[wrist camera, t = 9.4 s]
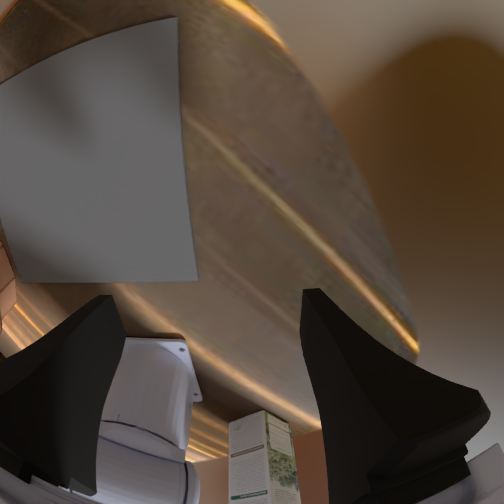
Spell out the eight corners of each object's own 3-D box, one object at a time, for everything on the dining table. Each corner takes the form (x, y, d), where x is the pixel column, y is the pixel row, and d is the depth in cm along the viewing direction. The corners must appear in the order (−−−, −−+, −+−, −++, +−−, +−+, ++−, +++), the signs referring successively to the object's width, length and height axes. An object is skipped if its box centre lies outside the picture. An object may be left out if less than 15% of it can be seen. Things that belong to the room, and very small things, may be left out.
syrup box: (226, 422, 30) (225, 527, 17) (265, 407, 28) (273, 524, 15) (255, 436, 32) (260, 530, 19) (292, 422, 30) (305, 524, 17)
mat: (199, 277, 20) (198, 280, 20) (24, 279, 20) (21, 282, 20) (178, 19, 12) (176, 16, 12) (-12, 95, 12) (-15, 95, 11)
